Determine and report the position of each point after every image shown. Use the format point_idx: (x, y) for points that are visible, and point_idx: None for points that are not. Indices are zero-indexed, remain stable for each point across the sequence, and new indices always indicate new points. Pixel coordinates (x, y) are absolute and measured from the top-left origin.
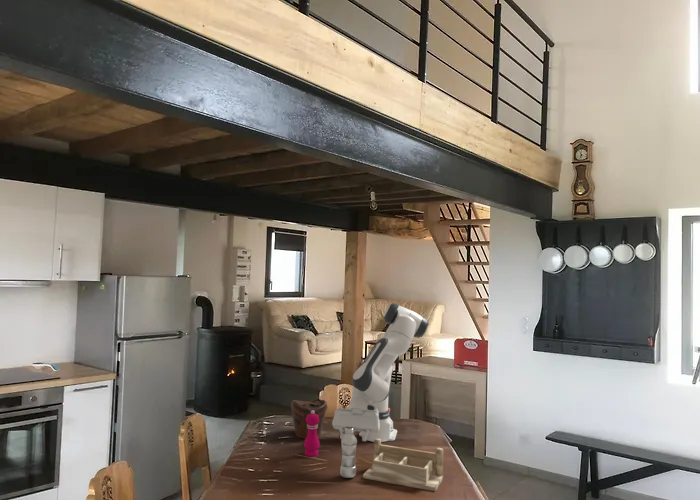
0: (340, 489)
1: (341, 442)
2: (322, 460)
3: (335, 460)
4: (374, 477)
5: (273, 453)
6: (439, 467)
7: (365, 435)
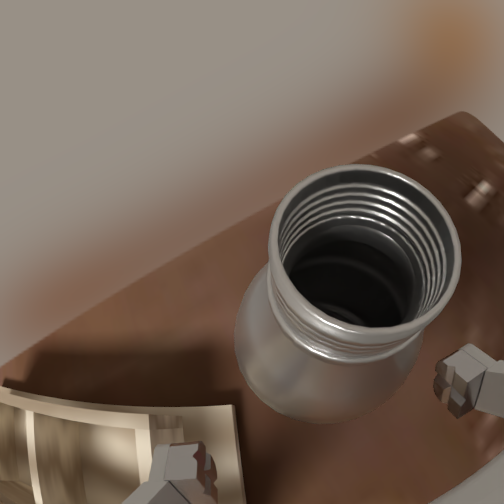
0: (264, 251)
1: (380, 267)
2: (496, 442)
3: None
4: (172, 407)
5: None
6: None
7: (156, 481)
